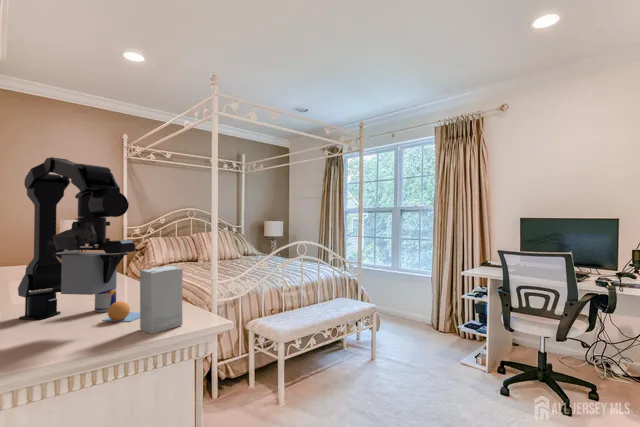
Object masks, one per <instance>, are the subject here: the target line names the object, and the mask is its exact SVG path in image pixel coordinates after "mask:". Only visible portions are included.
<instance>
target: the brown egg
mask: <svg viewBox="0 0 640 427" xmlns="http://www.w3.org/2000/svg"><path fill="white" fill-rule="evenodd" d="M130 310H131V308H130V306H129V304H128V303H127V302H125V301H120V300H119V301H116V302H115V303H113V304H112V305H111V306H110V307H109V309H108V312H107V316H108V318H110V319H112V320H114V321H113V322H120V320H123V319H125V318H126V317H127V316H128V314H129V312H131V311H130Z"/></svg>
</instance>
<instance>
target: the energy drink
mask: <svg viewBox="0 0 640 427" xmlns="http://www.w3.org/2000/svg"><path fill="white" fill-rule="evenodd" d="M117 274H118V272H117V270H116V288H114V289H111V290H107V291H104V292H100V293H97V294H94V312H96V313H108V309H109V307H110V306H111V305H112V304H113V303H115V302H117V283H118V282H117V279H118V278H117V277H118V276H117Z"/></svg>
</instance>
